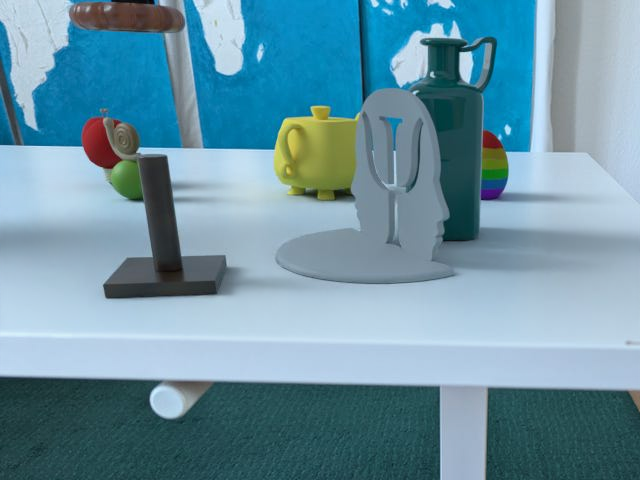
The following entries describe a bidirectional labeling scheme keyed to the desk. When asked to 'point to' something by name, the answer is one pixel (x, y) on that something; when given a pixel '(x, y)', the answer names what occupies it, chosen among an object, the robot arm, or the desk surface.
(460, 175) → the pitcher
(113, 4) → the ring
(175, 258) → the post
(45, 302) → the desk surface
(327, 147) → the teapot
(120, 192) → the snail figurine
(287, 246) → the ornament
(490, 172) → the decorative egg
